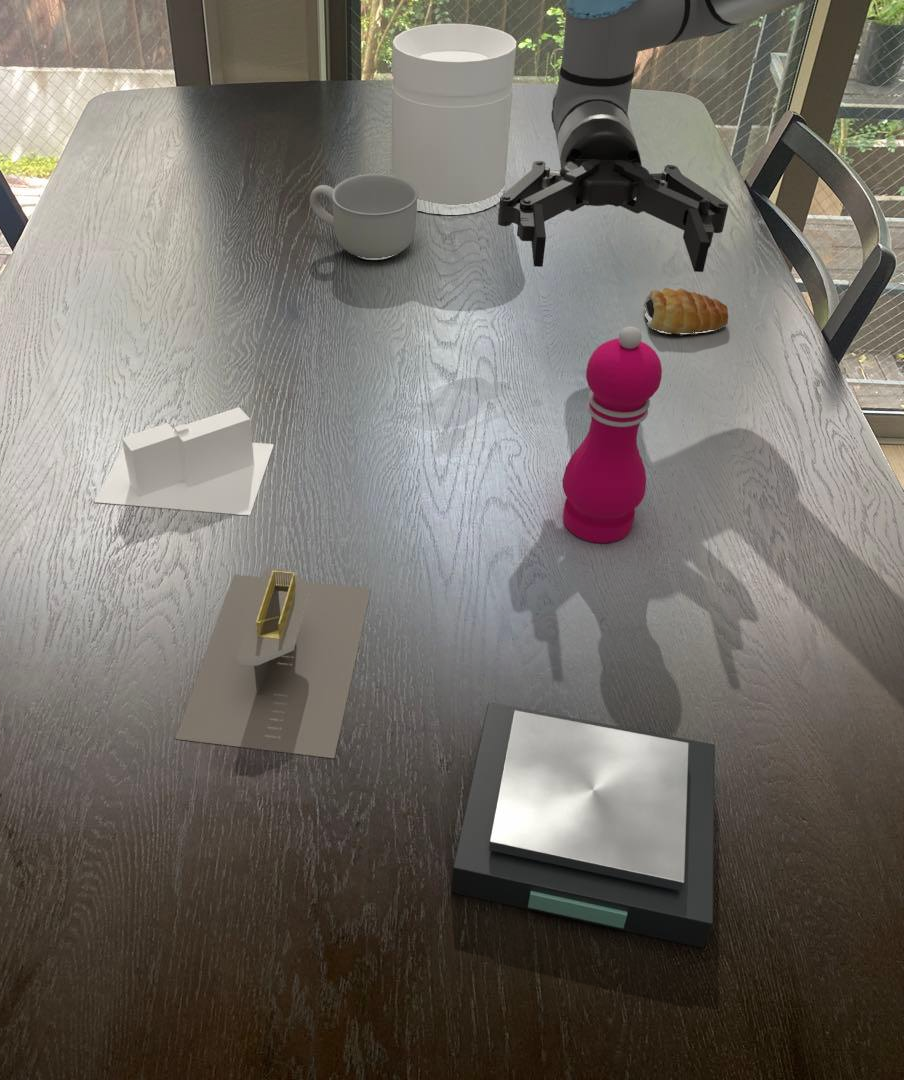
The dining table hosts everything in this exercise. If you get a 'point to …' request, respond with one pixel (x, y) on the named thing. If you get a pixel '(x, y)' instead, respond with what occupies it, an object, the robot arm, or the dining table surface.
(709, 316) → the pastry
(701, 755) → the scale
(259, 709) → the platform
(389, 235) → the teacup
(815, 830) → the dining table surface
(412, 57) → the canister
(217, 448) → the white flat upright-walled piece
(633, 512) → the pepper mill
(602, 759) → the pan
